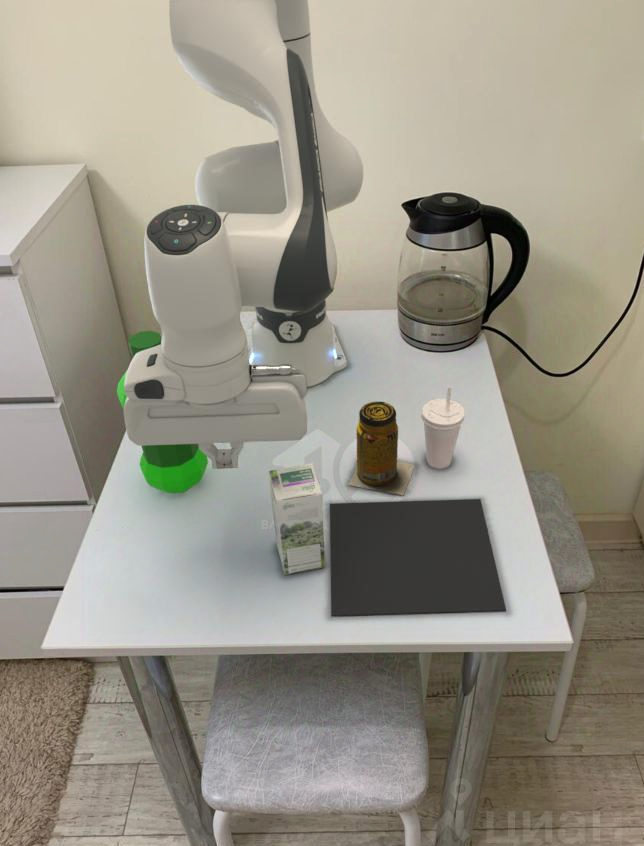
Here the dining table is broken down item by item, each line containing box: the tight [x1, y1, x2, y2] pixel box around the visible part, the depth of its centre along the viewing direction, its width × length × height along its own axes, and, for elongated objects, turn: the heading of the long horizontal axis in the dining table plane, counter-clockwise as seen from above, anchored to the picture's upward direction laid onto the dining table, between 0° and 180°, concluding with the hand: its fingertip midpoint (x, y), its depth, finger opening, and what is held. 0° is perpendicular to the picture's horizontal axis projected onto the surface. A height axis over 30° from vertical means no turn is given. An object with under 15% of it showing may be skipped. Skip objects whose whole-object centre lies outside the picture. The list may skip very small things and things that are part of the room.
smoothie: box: [420, 385, 466, 470], centre depth 108 cm, size 6×6×14 cm
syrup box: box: [268, 463, 326, 576], centre depth 93 cm, size 6×6×14 cm
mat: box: [329, 498, 507, 618], centre depth 98 cm, size 20×22×1 cm
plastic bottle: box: [116, 330, 209, 495], centre depth 102 cm, size 10×10×25 cm
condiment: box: [348, 400, 416, 496], centre depth 106 cm, size 7×8×12 cm
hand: (225, 465), depth 87 cm, fingers closed
